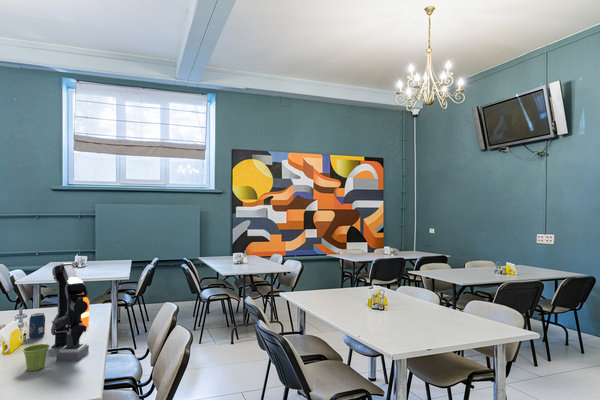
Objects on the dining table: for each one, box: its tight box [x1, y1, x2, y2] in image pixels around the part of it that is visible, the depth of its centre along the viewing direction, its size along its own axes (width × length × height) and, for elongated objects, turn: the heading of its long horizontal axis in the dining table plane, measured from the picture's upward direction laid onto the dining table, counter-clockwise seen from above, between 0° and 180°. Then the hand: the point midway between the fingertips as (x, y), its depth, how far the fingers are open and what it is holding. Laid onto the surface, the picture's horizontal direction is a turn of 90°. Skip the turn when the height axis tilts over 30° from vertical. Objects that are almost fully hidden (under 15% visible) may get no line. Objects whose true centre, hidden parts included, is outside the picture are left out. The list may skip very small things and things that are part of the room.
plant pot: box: [22, 343, 50, 372], centre depth 164 cm, size 9×9×9 cm
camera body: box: [55, 343, 90, 363], centre depth 177 cm, size 11×9×5 cm
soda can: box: [28, 312, 46, 340], centre depth 204 cm, size 7×7×12 cm
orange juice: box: [78, 294, 90, 327], centre depth 223 cm, size 8×9×20 cm
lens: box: [67, 331, 80, 349], centre depth 177 cm, size 5×5×8 cm
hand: (73, 344), depth 177 cm, fingers closed on lens, 5 cm apart
